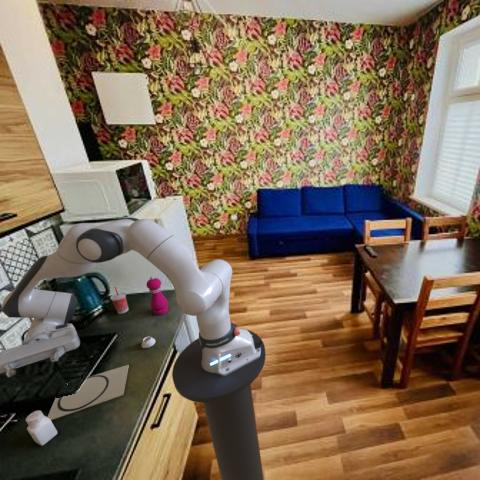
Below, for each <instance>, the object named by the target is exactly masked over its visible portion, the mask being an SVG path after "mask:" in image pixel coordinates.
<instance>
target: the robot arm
mask: <svg viewBox="0 0 480 480" xmlns="http://www.w3.org/2000/svg"><path fill="white" fill-rule="evenodd" d="M131 251H135V252H136V253H138V254H139V255H141V256H142V257H143V258H144V259H146V260H147V261H148V262H149V263H150V264H152V265H153V266H154V267H155V268H156V269H158V270H159V271H160V272H161V273H163V274H164V275H165V276H166V277H167V279H168V280H169V282H170V283H171V285H172V287H173V289H174V291H175V292H174V293H175V297H176V299H175V301H176V302H175V303H176V305H177V307H178V309H179V310H180V311H181V312H182V313H183V314H185V315H188V316H192V317H196V318H195V319H196V323H197V327H198V338H199V341H200V345H201V347H202V361H201V365H202V367H203V369H204V370H206V371H208V372H211V373H217V374H219V375H221V376H226V375H227V374H229V373H231V372H233V371H235V370H237V369H239V368H241V367H242V366H244V365H246V364H248V363H250V362H252V361H254V360H255V359H257V358H259V357H260V354H261V348H260V344H261V343H262V341H263V340H262V341H261V340H260V339H259V338H258V336H259V335H258V334H257V333H255V335H251V334H250V333H249V332H248V331H247V330H248V329H246V328H242V329H240V328H241V327H238V326H237V323H235V322H236V321H235V320H232V322H231V318H230V317H231V316H230V293H231V292H230V291H231V281H232V277H233V268H232V266H231V264H230V263H229V262H228V261H226V260H224V259H220V258H218V259H217V258H216V259H213V260H211V261H209V262H207V263H206V264H204V265H203V266H202V267H201V268H199V267H198V266H197V264H196V263H195V261H194V252H193V250H192V249H191V248H190V247H188V246H187V244H185V243H184V242H183V241H181V240H180V239H179V238H178V237H177V236H175V235H174V234H173V233H172V232H170V231H169V230H168V229H166V228H165V227H164V226H162V225H160V224H158V223H157V222H156V221H153V220H152V219H149V218H141V219H139V218H137V217H123V218H119V219H118V220H113V221H109V222H105V223H102V224H100V225H96V224H93V223H89V222H87V223H86V222H81V223H80V222H79V223H76V224H74V225H73V226H71V227H70V228H69V229H68V230H67V232H66V233H65V234H64V236H63V237H62V239H61V241H60V243H59V244H58V247H57V248H56V251H54V252H52V253H51V254H50V253H49V255H43V256H42V255H41V256H39V258H38V259H36V261H35V262H34V263H33V264H32V265H31V267H30V268H29V269H28V270H27V271H26V273H25V274H24V275H23V276H22V278H21V279H20V281H19V282H18V283H17V285H16V286H15V287H14V288H13V289H12V290H11V291H10V292H9V293H8V294H7V295H6V296H5V298H4V299H3V301H2V303H1V312H2V313H3V314H4V315H5V316H7V317H8V318H13V319H17V318H19V319H23V318H27V319H33V320H32V322H31V324H30V325H29V328H28V331H27V333H26V334H25V337H24V338H23V341H22V344H19V345H17V346H14V347H13V346H12V347H9V348H7V349H4V350H2V351H0V375H1V374H4V373H5V375H6V377H7V378H11V377H14V376H16V375H17V372H18V371H17V369H18V368H22V367H24V366H27V365H30V364H34V363H36V362H40V361H43V360H46V359H49V360H50V363H55V362H58V361H59V360H60V358H61V357H62V356H63V355H64V354H65V353H67V352H69V351H73V350H76V349H78V348H79V347H80V346H81V339H80V337H79V335H78V332H77V329H76V327H75V326H74V325H73V323H69V322H71V321H72V319H73V317H74V316H75V313H76V310H77V306H78V299H77V297H76V296H75V295H74V294H73V293H70V292H64V291H63V292H62V291H53V290H44V289H37V288H36V287H37V285H38V284H39V283H40V282H41V281H44V280H47V279H58V278H76V277H80V276H83V275H86V274H87V273H89V272H91V271H92V270H93V269H94V268H95V267H96V265H97V264H99V263H100V264H101V263H105V262H108V261H112V260H114V259H115V258H117V257H120V256H122V255H124V254H128V253H129V252H131ZM67 323H68V324H67ZM257 335H258V336H257Z"/></svg>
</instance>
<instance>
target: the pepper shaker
mask: <svg viewBox="0 0 480 480" xmlns="http://www.w3.org/2000/svg"><path fill="white" fill-rule="evenodd" d="M52 421H53V420H50V419H49V418H48V416H46V415H44V413H43V412H42V410H34V411H33V412H31V413H30V414H29V415H27V417H25V422H26V424H27V425H28V426H27V428H26V430H27V432H28V433H29V435H30V436H31V438H32V439H33V441H34V442H35V443H36V444H38V445H39V446H44V445H46V444H47V443H48V442H50V441H51V440H52V439H53V438H55V436H57V435H58V430H57V428H56V427H55V425H54V423H53V422H52Z"/></svg>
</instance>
